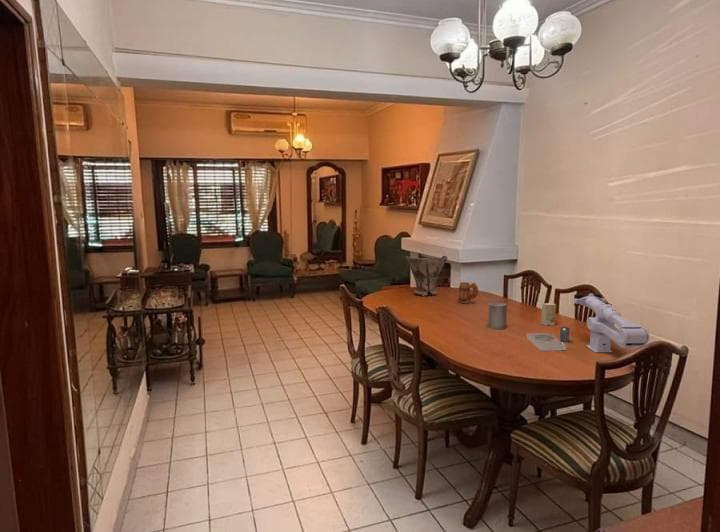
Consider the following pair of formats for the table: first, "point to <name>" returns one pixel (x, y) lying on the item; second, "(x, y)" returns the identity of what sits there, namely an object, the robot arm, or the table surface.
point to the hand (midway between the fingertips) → (582, 296)
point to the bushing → (564, 334)
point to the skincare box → (548, 314)
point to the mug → (467, 292)
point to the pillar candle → (497, 315)
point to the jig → (546, 342)
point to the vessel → (426, 273)
